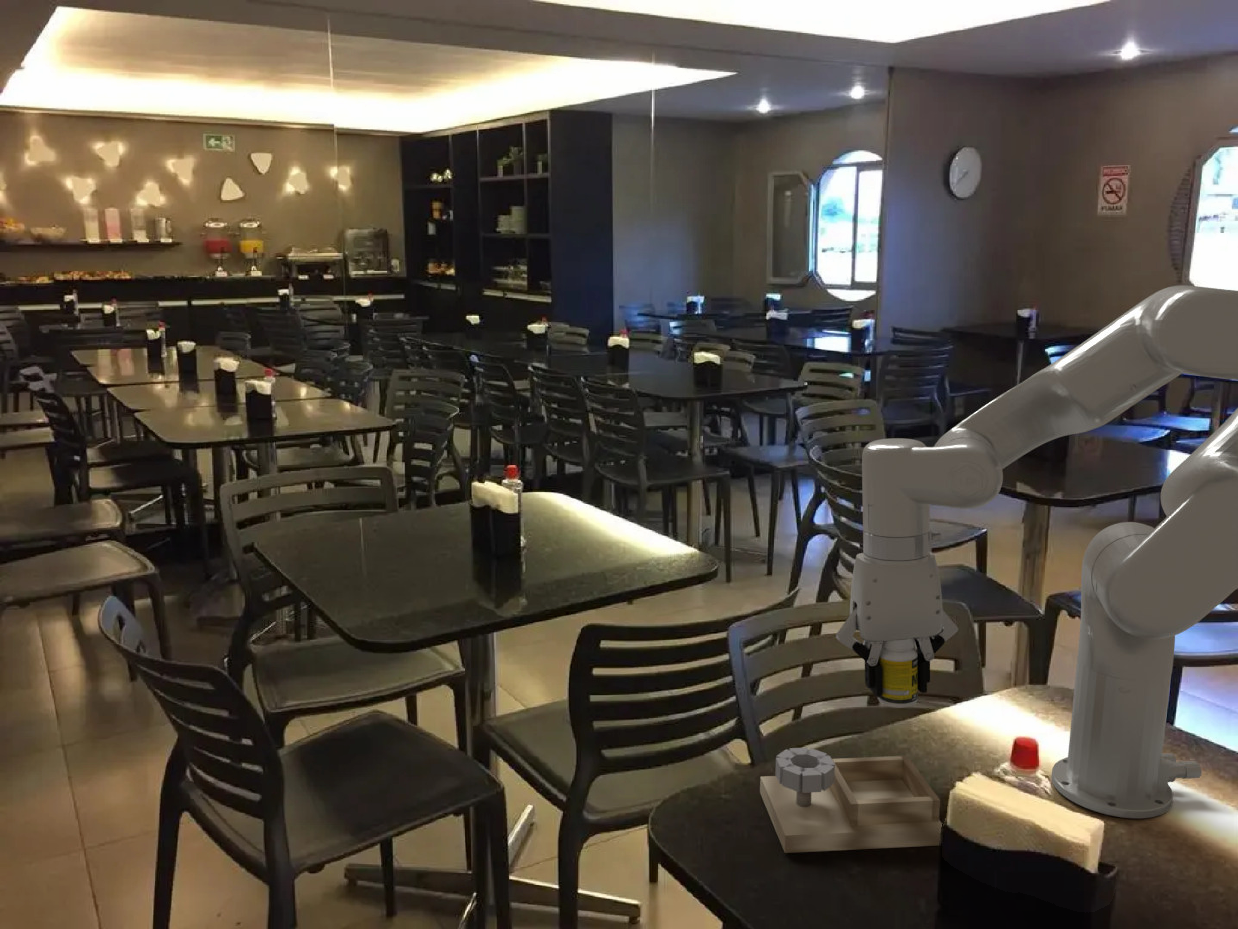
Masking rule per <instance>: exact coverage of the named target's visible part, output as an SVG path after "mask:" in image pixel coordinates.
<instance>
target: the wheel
mask: <svg viewBox="0 0 1238 929" xmlns="http://www.w3.org/2000/svg"><path fill="white" fill-rule="evenodd" d="M832 759H833V758H832V757H831V756H830V755H828V753H826V752H823V751H820V750H818V749H815V748H812V747H811V748H809V749H808V747H792V748H791V747H790V748H789V749H785V750H783V751H781V752H780V753H779V754H777V755H776V757H775V775H774V776H776V777H777V779H778V781H779V784H782V786H784V787H786V788H789V789H791V790H794V791H797V792H799V791H801V790H802V793H811V792H821V790H823V791H825V790H826V789H828V788H829V787H830V786H831V785H833V784H834V775H835V764H834V762H833V760H832Z"/></svg>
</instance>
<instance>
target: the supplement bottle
mask: <svg viewBox="0 0 1238 929" xmlns="http://www.w3.org/2000/svg"><path fill="white" fill-rule="evenodd" d="M879 663H880V665H881V666H882V681H883V695H882V696H881V697H876V698H877V700H878V702H879V703H880V704H882V705H884V706H887V707H890V708H910V707H912V706H914V705H916V704H917V702H918V699H919V698H918V697H919V695H918V693H919V690H918V655H917V651H916V648H915V640H914V639H902V640H893V641H883V643H882V647H881V651H880V655H879Z"/></svg>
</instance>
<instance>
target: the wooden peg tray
mask: <svg viewBox="0 0 1238 929" xmlns="http://www.w3.org/2000/svg"><path fill="white" fill-rule="evenodd" d="M831 759H832V760H833V762H834V764H835V775H834V784H833V785H831V786H830V787H829V788H828V789H826V790H825V791H823V790H821V792H811V793H802V790H801V791H799V792H797V791H794V790H791V789H789V788H786V787H784V786H782V784H779V781H778V779H777V777H776V775H770V776H769V775H767V776H766V775H765V776H760V782H759V783H760V785H759V794H760V796H761V798H762V801H763V804H764V805H765V808H766V810H767V813H768V815H769V817H770V818H769V819H770V821H771V823H772V825H773V828H774V830H775V832H776V835H777V837H778V839H779V842H780V844H781V847H782V849H783V850H782V851H783V852H784V854H789V853H791V854H792V853H809V852H810V853H811V852H831V851H849V850H850V851H853V850H869V849H870V850H871V849H872V850H873V849H891V848H893V849H894V848H910V847H911V848H912V847H931V846H932V847H933V846H934V847H935V846H940V845H939V841H940V833H941V827H942V824H943V823H942V822H941V820H940V810H941V809H940V808H941V807H940V806H941V799H940V798H939V797H938V795H937V794H936V792H935V791H934V790H933V788H932V787H931V786H930V784H929V783H928V782H927V780H926V779H925V777H924V776H923V775H922V773H921V772H920V770H919V769H918V768H917V767H916V765H915V764H914V763H913V762H912V760H911V759H910V756H908V755H897V756H896V755H893V756H892V755H891V756H890V755H889V756H870V757H848V758H847V757H845V758H831Z"/></svg>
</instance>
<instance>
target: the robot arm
mask: <svg viewBox="0 0 1238 929" xmlns="http://www.w3.org/2000/svg"><path fill="white" fill-rule="evenodd" d="M1182 374H1185V375H1192V376H1199V377H1207V378H1214V379H1223V380H1224V379H1225V380H1232V381H1233V380H1234V381H1235V380H1236V381H1238V290H1232V289H1223V288H1216V287H1215V288H1214V287H1208V286H1207V287H1205V286H1198V285H1197V286H1195V285H1185V284H1183V285H1182V284H1180V285H1173V286H1168V287H1166V288H1162V289H1160V290H1158V291H1156V292H1155V293H1153V294H1151V295H1150V296H1148V297H1146V298H1145V299H1143V300H1141V301H1140V302H1139V303H1137V304H1136V305H1134V306H1133V307H1131V308H1130V309H1129V310H1127V311H1125V312H1124V313H1123V314H1122V315H1120V316H1118V317H1117V318H1116V319H1114V320H1113V321H1111V322H1110V323H1109V324H1107V325H1106V326H1104V327H1102V329H1100V330H1098V332H1096V333H1095V334H1093V335H1091V336H1090V337H1089V338H1087V339H1086V340H1085V341H1083V342H1082V343H1081V344H1079V345H1077V346H1076V347H1074V348H1073V349H1071V350H1070V351H1069V352H1067V353H1065V354H1064V355H1063V356H1061V357H1060V358H1058V359H1056V360H1055V361H1053V362H1052V363H1051V364H1049V365H1048V366H1045V368H1042V369H1041V370H1039V371H1037V372H1036V373H1034V374H1032V375H1031V376H1030V377H1028V378H1027V379H1025V380H1023V381H1022V382H1020V383H1019V384H1017V385H1015V386H1014V387H1012V388H1010V389H1009V390H1007V391H1006V392H1005V391H1004V392H1003V393H1002V394H1000V395H999V396H997V397H996V398H994V399H993V400H991V401H990V402H988V403H986V404H985V405H983V406H982V407H981V408H979V409H978V410H977V411H975V412H973V413H972V414H970V415H969V416H968V417H966V418H965V419H963V420H961V421H960V422H959V423H958V424H956V425H955V426H953V427H952V428H951V429H950V430H948V431H947V432H946V433H944V434H943V435H942V436H941V437H940V438H939V439H938V440H937V442H936V443H935V444H934V446H926V444H925V443H923V442H922V441H920V440H917V439H912V438H901V437H900V438H899V437H897V438H892V437H891V438H882V439H876V440H873V441H871V442H870V441H869V443H868V444H866V445H865V446H864V448H863V450H862V454H861V455H862V457H861V473H862V474H861V475H862V476H861V477H862V478H861V480H862V483H861V484H862V486H861V488H862V490H861V491H862V492H861V494H862V542H863V543H862V546H863V550H862V551H863V552H861V553H857V554H856V556H855V559H854V564H853V565H854V566H853V570H852V578H851V579H852V580H851V586H850V600H849V601H850V603H849V616H848V618H847V619H845V621H844V623H843V624H842V625H841V627H840V629H839V630H838V631H837V633H836V634H835V638H836V639H837V641H839V643H841V644H842V645H844V646H845V647H846V648H848V649H850V650H852V651H853V652H854V653H856V654H857V655H858V656H859V657H860V659H861V658H862V660H864V683H865V686H866V688H867V689H869V690H870V691H871V693H873V695H874V696H875V697H876V698H877V697H881V696H882V695H883V681H882V666H881V665H880V663H879V655H880V651H881V647H882V643H883V641H893V640H902V639H914V640H915V645H914V648H915V650H916V651H917V655H918V692H920V693H921V694H924V693H925V694H926V693H928V683H930V682H931V661H933V660H934V658H935V654H936V653H937V652H938V651H939V650H940V649H941V648H942V647H943V646H944V644H945V642H946V641H948V640H949V639H951V638H952V637H953V636H954V635H955V634H956V633H957V632H958V631H959V628H958V626H957V625H956V623H954V622H953V620H952V619H951V617H950V616H949V615H948V614H947V613H946V612H945V611H944V610H943V595H942V588H941V587H942V586H941V580H940V574H939V569H938V564H937V559H936V555H935V554H934V553H933V552H932V546H933V545H935V544H939V543H941V542H942V535H941V532H940V531H933V530H931V528H930V525H931V523H930V519H931V518H930V516H931V515H930V513H931V512H930V506H938V507H944V508H949V509H957V510H973V509H978V508H981V507H985V506H986V505H988V504H990V503H991V502H992V501H993V500H995V498H996V497H997V496H998V495H999V493H1000V492H1001V488H1002V486H1003V481H1004V472H1003V469H1005V468H1006V467H1008V466H1009V465H1011V464H1012V463H1014V462H1015V461H1017V460H1018V459H1020V458H1021V457H1023V456H1024V455H1026V454H1028V453H1030V452H1031V451H1033V450H1034V449H1037V448H1038V447H1040V446H1042V445H1044V444H1045V443H1048V442H1050V441H1053V440H1055V439H1058V438H1061V437H1065V436H1070V435H1075V434H1082V433H1086V432H1089V431H1092V430H1095V429H1097V428H1100V427H1102V426H1104V425H1106V424H1108V423H1110V422H1111V421H1113V419H1115V418H1117V417H1118V416H1120V415H1121V414H1123V413H1124V412H1125V411H1127V410H1128V409H1130V408H1131V407H1133V406H1134V405H1136V404H1137V403H1139V402H1140V401H1142V400H1144V399H1145V398H1147V397H1148V396H1149V395H1151V394H1152V393H1154V392H1156V391H1157V390H1158V389H1160V388H1162V387H1163V386H1165V385H1167V384H1169V382H1172V380H1174V379H1175V378H1177V377H1179V376H1180V375H1182ZM1160 491H1161V492H1160V504H1161V508H1162V510H1163V512H1164V514H1165V516H1166V517H1165V518H1164V519H1163V520H1162V521H1161V522H1160V523H1159V524H1157V525H1156V527H1155V528H1154V527H1153V526H1150V525H1147V524H1145V523H1141V522H1135V521H1123V522H1118V523H1115V524H1111V525H1109V526H1106V527H1105V528H1103V529H1102V530H1100V531H1099V532H1098V533H1097V534H1095V535H1094V537H1093V538H1092V539H1091V540H1090V542H1089V543H1088V545H1087V547H1086V549H1085V551H1084V555H1083V559H1082V562H1081V563H1082V565H1081V574H1080V575H1081V576H1080V577H1081V578H1080V626H1079V638H1078V649H1077V657H1076V658H1077V659H1076V668H1075V677H1074V678H1075V680H1074V689H1073V690H1074V691H1073V700H1072V709H1071V710H1072V711H1071V722H1070V733H1069V743H1068V752H1067V754H1068V755H1067V757H1064V758H1062V759H1060V760H1058V761H1056V762H1055V763H1054V764H1053V766H1052V769H1051V776H1050V777H1051V782H1052V783H1053V786H1054V787H1055V789H1057V791H1058V792H1059V793H1060V794H1061V795H1062V796H1064V797H1065V798H1066V799H1067V800H1069V801H1071V802H1073V803H1074V804H1076V805H1078V806H1081V807H1082V808H1085V809H1088V810H1090V811H1093V812H1096V813H1099V814H1102V815H1103V814H1104V815H1107V816H1112V817H1117V818H1124V819H1148V818H1154V817H1159V816H1161V815H1163V814H1165V813H1167V812H1168V811H1169V810H1170V809H1171V808H1172V805H1173V802H1174V801H1173V800H1174V799H1173V798H1174V792H1173V790H1172V788H1171V786H1170V785H1169V783H1174V782H1175V781H1176V779H1182V780H1183V779H1184V780H1185V779H1187V780H1188V779H1200V778H1201V776H1202V768H1201V765H1200V763H1198V762H1197V760H1196V761H1195V760H1185V761H1184V760H1182V761H1180V760H1179V761H1177V757H1176V756H1175V754H1174V753H1172V752H1169V753H1168V752H1167V753H1166V752H1165V753H1163V750H1164V749H1163V748H1164V741H1165V732H1166V724H1167V714H1168V706H1169V705H1168V704H1169V698H1170V687H1171V680H1172V674H1173V668H1174V666H1173V665H1174V658H1175V657H1174V656H1175V646H1176V645H1175V644H1176V636H1177V635H1179V634H1182V633H1184V632H1186V631H1187V630H1189V629H1191V628H1192V627H1193V626H1194V625H1196V624H1198V623H1199V622H1200V621H1201V620H1202V619H1204V618H1205V617H1206V616H1207V615H1209V613H1210V612H1212V611H1213V610H1214V609H1215V608H1216V607H1217V606H1219V605H1220V604H1221V603H1222V602H1223V601H1224V600H1226V599H1227V598H1228V597H1229V596H1231V594H1232V593H1234V592H1235V590H1237V589H1238V407H1237V408H1236V409H1235V411H1233V412H1232V414H1230V416H1228V418H1227V419H1226V420H1225V421H1224V423H1222V424H1221V425H1220V426H1219V427H1218V428H1217V429H1216V430H1215V431H1214V432H1213V433H1212V434H1211V435H1210V436H1209V437H1207V438H1206V440H1204V442H1203V443H1201V445H1199V446H1198V447H1197V448H1196V449H1195V450H1194V451H1192V453H1191V454H1190V455H1189V456H1188V457H1186V458H1185V459H1184V460H1183V461H1182V462H1181V463H1180V464H1179V465H1178V466H1176V467H1175V468H1174V469H1173V470H1172V471H1171V472H1170V474H1169V475H1168V476H1167V477H1166V479H1165V481H1164V482H1163V485H1162V486H1161V490H1160ZM856 631H857V632H859V635H860V638H861V639H862V640H863V643H862V642H861V641H859V640H858V639H857V638H855V637H854V634H855V633H856Z"/></svg>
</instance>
